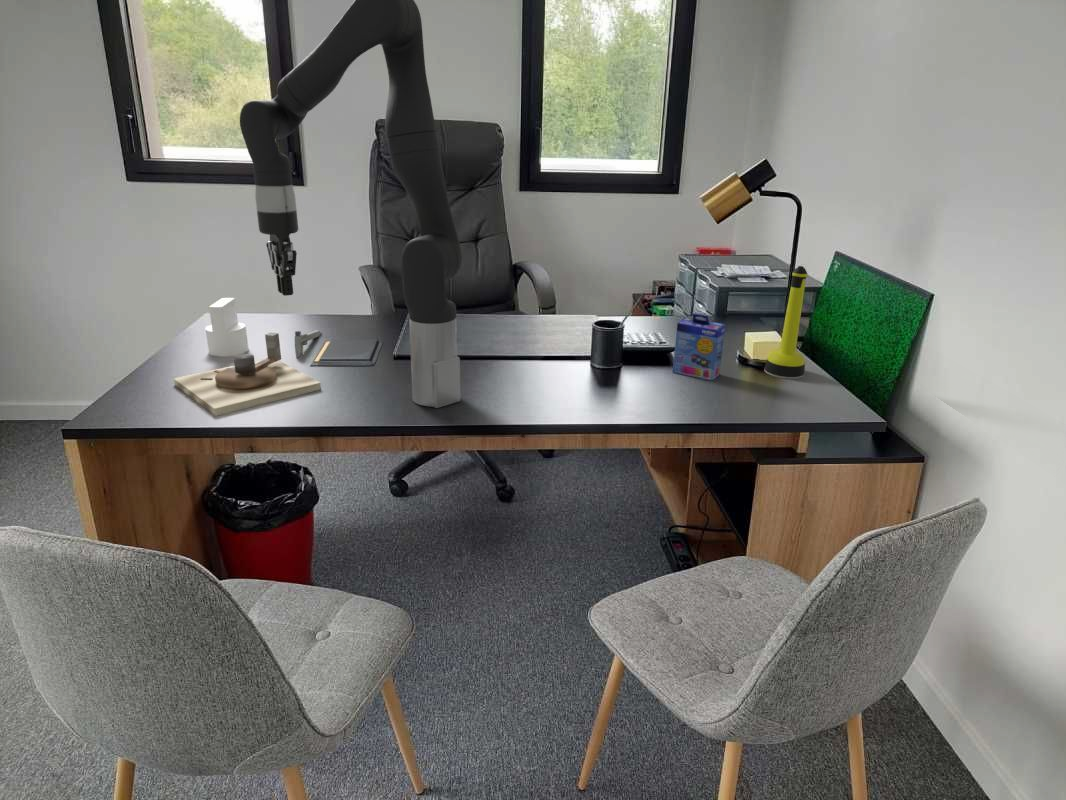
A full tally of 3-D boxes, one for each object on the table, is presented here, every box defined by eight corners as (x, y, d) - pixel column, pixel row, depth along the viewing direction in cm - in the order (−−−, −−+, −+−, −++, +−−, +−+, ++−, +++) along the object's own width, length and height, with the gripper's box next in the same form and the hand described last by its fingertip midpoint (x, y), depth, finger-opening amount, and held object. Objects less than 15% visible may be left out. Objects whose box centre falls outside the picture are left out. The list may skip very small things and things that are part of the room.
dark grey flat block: (373, 361, 165) (306, 361, 164) (374, 369, 166) (307, 369, 165) (385, 336, 184) (325, 336, 183) (386, 343, 184) (326, 343, 183)
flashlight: (829, 270, 155) (812, 262, 163) (789, 269, 155) (774, 261, 163) (810, 378, 164) (795, 366, 173) (772, 378, 164) (758, 366, 172)
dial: (253, 391, 144) (248, 358, 141) (202, 384, 147) (197, 352, 144) (301, 365, 159) (298, 335, 157) (254, 359, 162) (251, 330, 160)
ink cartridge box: (671, 373, 166) (677, 312, 161) (679, 366, 170) (685, 307, 165) (712, 381, 161) (720, 319, 156) (720, 374, 166) (727, 313, 160)
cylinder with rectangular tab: (216, 344, 178) (209, 297, 174) (253, 345, 179) (247, 298, 174) (202, 356, 170) (195, 306, 165) (241, 356, 170) (234, 307, 166)
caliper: (300, 359, 170) (298, 333, 168) (295, 359, 170) (293, 333, 168) (321, 334, 190) (319, 310, 187) (317, 334, 190) (315, 310, 187)
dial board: (320, 389, 151) (320, 381, 151) (215, 415, 137) (214, 407, 136) (274, 363, 166) (273, 356, 165) (174, 385, 152) (173, 377, 151)
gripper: (306, 211, 140) (314, 298, 146) (285, 203, 151) (294, 285, 157) (266, 213, 136) (276, 302, 142) (248, 205, 147) (258, 288, 153)
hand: (285, 293), depth 150 cm, fingers closed
